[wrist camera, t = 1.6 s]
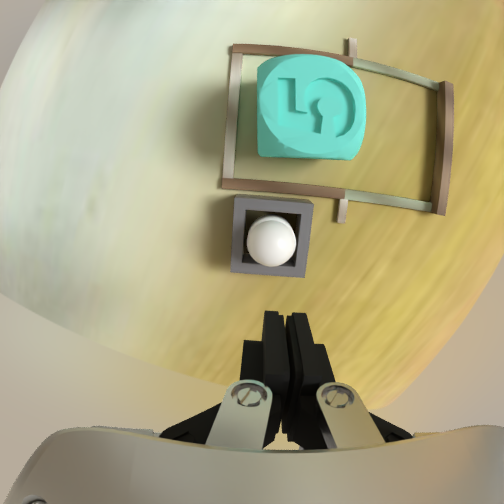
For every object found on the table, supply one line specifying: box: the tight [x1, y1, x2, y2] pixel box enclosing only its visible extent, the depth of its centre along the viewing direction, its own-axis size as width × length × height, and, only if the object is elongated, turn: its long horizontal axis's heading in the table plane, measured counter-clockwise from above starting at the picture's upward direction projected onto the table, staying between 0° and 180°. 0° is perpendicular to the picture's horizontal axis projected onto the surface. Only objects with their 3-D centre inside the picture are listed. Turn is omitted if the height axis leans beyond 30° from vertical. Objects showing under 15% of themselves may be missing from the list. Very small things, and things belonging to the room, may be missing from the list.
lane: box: [222, 38, 454, 223], centre depth 25 cm, size 20×24×2 cm
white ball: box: [247, 214, 296, 267], centre depth 25 cm, size 4×4×4 cm
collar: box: [230, 194, 314, 278], centre depth 28 cm, size 7×7×3 cm
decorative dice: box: [257, 54, 366, 160], centre depth 22 cm, size 8×8×8 cm
